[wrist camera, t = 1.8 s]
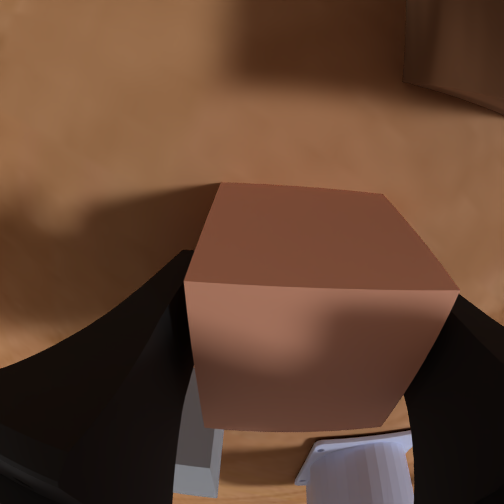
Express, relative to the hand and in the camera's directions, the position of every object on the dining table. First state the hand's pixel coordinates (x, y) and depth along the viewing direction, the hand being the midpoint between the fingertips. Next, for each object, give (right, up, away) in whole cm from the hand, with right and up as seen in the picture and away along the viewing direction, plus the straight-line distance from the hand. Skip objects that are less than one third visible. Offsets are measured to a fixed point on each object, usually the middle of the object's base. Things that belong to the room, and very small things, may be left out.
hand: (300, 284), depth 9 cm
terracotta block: (0, +1, +1) cm, 2 cm away
